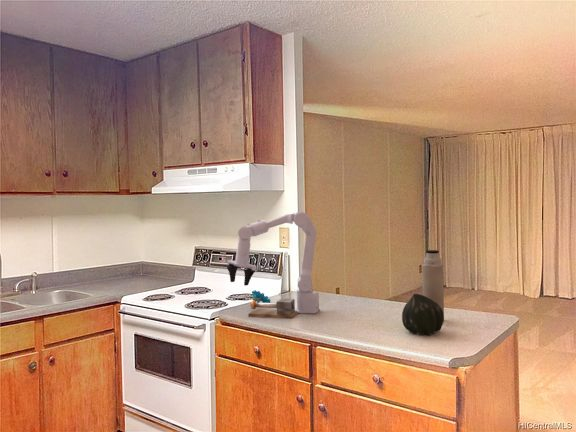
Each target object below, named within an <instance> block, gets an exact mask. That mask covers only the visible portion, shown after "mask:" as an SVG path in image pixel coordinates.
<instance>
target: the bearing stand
mask: <svg viewBox="0 0 576 432" xmlns="http://www.w3.org/2000/svg"><path fill="white" fill-rule="evenodd" d="M295 301H296V299H295V298H285V297H284V298H283V297H282V298H280V299H279V300H277V301H276V303H277V308H276V309H273V308H256V309H252V310H251V311H249V313H247V314H248V317H250V316H251V318H252V317H254V318H255V317H256V318H272V319H274V318H275V319H276V318H277V319H294V317H295V316H297V314H299V313H298V311H297V309H296V307H295V305H296V304H295V303H296V302H295ZM295 309H296V310H295Z"/></svg>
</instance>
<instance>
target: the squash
mask: <svg viewBox="0 0 576 432" xmlns="http://www.w3.org/2000/svg"><path fill="white" fill-rule="evenodd" d="M401 313H402V314H401V320H402V324H403V327H404V328H405V329H406V330H407V331H408V332H409V333H412V334H418V335H420V336H424V335H427V336H431V335H434V334H435V333H436V332H437V333H438V332H439V331H440V330H441V329H442V327H443V324H444V322H445V313H444V314H443V311H442V308H441V307H440V306H439V305H438V304H437V303H436V302H434V301H433V300H431V299H430V298H428V297H425V296H423V294H419V293H413V295H412V296H411V297H410V299H408V301H407V303H406V304H405V305H404V307H403V309H402V312H401Z"/></svg>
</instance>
